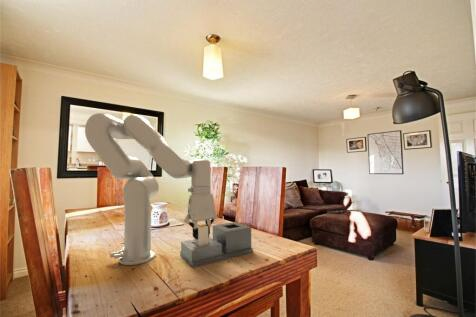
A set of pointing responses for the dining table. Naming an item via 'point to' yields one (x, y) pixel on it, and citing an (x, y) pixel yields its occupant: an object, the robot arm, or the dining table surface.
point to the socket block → (219, 245)
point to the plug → (202, 235)
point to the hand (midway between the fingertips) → (201, 237)
